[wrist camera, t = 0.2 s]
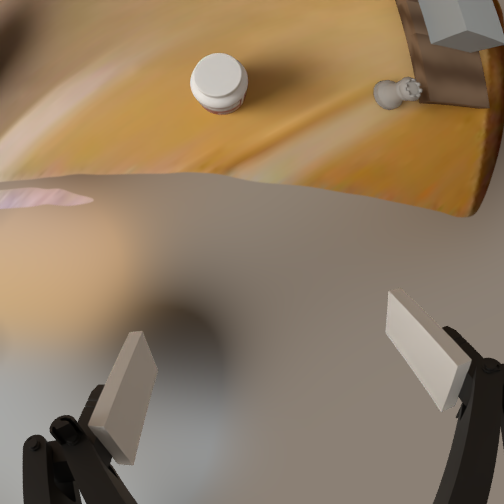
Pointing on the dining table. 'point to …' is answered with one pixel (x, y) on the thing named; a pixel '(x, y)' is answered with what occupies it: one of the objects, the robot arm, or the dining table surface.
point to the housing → (462, 24)
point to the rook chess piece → (396, 92)
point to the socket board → (442, 65)
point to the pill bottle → (219, 83)
